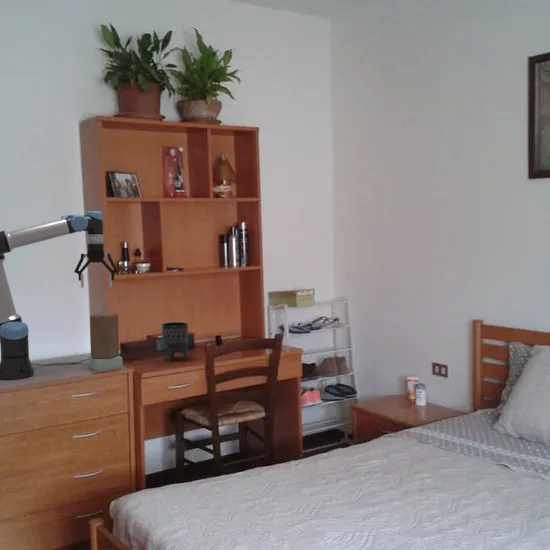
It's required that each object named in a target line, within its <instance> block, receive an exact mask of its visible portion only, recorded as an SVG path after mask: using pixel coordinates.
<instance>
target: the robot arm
mask: <svg viewBox="0 0 550 550" xmlns="http://www.w3.org/2000/svg"><path fill="white" fill-rule="evenodd" d="M81 232H87V233H86V235H87V236H86V237H87V239H86V240H87V241H86V242H87V243H88V244H87V253H82V252H81V254H80V258H79V261H78V263H77V265H76V267H75V269H74V273H75V274H78V275H77V276H78V282H79V281H80V288H82V289H83V288H84V280H85V279H84V273H83V272H84V271H85V270H86V269H87V268H88V266H89V265H90V263H93V264H95V263H97V264H98V263H99V264H100V263H101V264H102V265H103V266H104V267H105V268H106V270H108V271H109V288H113V281H115V273H118V272H119V270H118V268H117V266H116V264H115V262H114V261H113V258H112V253H110V252H109V253H105V251H104V250H105V247H104V246H105V245H104V240H105V239H104V217H103V212H102V211H100V210H98V211H97V210H96V211H94V210H92V211H91V210H89V211H86V214H85V215H84V214H75V215H74V214H73V215H69V214H67V215H61V217H60V219H55V220H52V221H48V222H43V223H39V224H35V225H31V226H28V227H23V228H18V229H15V230H11V231H6V230H1V231H0V380H21V379H25V378H26V379H27V378H30V377H33V376H34V374H35V372H34V368H33V365H32V362H31V359H30V353H29V351H30V350H29V346H30V345H29V326H28V324H27V323H25V322H23V320H22V317H21V315H20V314H18V313H17V311H16V307H15V303H14V300H13V297H12V292H11V288H10V285H9V281H8V277H7V275H6V271H5V267H4V261H5V260H6V257H5V256H6V255H5V254H7V253H11V252H12V251H13V250H15V249H17V248H20V247H25V246H29V245H31V244H36V243H40V242H43V241H48V240H51V239H55V238H60V237H64V236H67V235H70V234H74V233H81ZM86 257H87V259H88V260H87V261H86V263H85V264H84V265H83V266H82V263H83V262H84V259H86ZM104 258H107V259H108V261H109V263H110V265H111V266H110V265H109V264H108V263H107V261H105V260H104ZM81 266H82V267H81ZM80 268H81V269H80Z"/></svg>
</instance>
